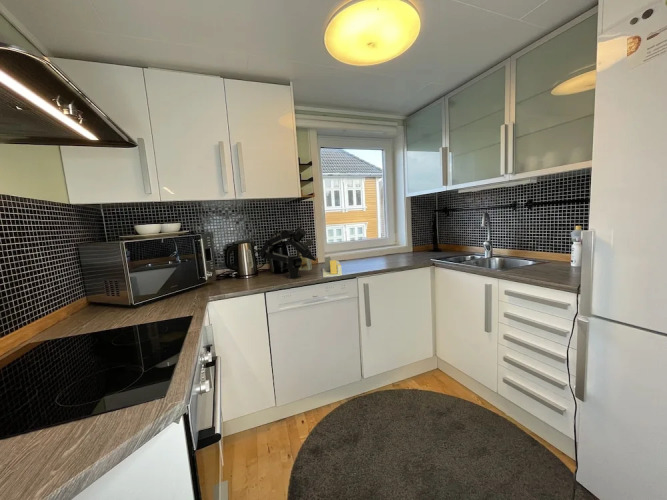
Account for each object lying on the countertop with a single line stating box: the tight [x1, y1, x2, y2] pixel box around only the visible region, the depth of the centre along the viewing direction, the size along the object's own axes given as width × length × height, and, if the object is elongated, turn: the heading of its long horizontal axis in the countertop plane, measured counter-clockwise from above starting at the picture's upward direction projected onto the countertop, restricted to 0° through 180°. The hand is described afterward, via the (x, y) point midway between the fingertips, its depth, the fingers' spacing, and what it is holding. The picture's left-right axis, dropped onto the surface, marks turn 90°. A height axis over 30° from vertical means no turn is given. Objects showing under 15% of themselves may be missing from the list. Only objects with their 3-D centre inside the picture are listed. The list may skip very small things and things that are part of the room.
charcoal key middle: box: [324, 257, 332, 272], centre depth 188 cm, size 4×6×8 cm, turn 3°
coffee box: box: [296, 248, 313, 271], centre depth 207 cm, size 9×6×16 cm
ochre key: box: [330, 259, 337, 274], centre depth 178 cm, size 4×6×8 cm, turn 3°
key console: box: [322, 260, 343, 278], centre depth 188 cm, size 12×28×6 cm, turn 3°
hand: (315, 260), depth 177 cm, fingers closed
